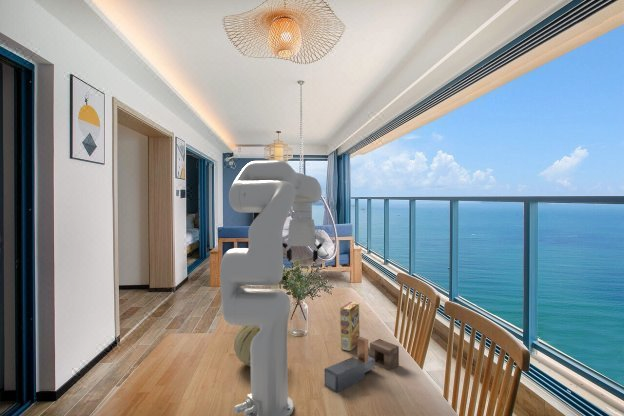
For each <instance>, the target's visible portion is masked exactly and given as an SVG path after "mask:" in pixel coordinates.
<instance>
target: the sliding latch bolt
mask: <svg viewBox="0 0 624 416" xmlns="http://www.w3.org/2000/svg"><path fill="white" fill-rule="evenodd" d="M357 359H358V360H360V361H363V362H365V373H367V372H369V371H372V370H373V369H375V368H376V364H375V359H374V358H372V357H370V355H369V339H367V338H365V337H362V336H360V337H359V338H358V344H357Z"/></svg>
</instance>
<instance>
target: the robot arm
mask: <svg viewBox="0 0 624 416" xmlns="http://www.w3.org/2000/svg"><path fill="white" fill-rule="evenodd" d="M228 192H229V193H228V201H229V206H230V207H231V208H232V209H233V210H234V211H235V212H237V213H244V214H245V213H247V214H248V213H249V214H251V213H254V214H255V213H258V215H257V216H256V217H255V218H254V219H253V221H252V223H251V224H250V226H249V228H248V231H247V234H248V235H247V236H248V247H241V248H240V247H237V248H236V247H235V248H230V249H228V250H227V251H226V252H224V253H223V256H222V258H221V262H220V268H219V269H220V270H219V279H220V281H219V282H220V296H221V308H222V316H223V319H224V321H225V322H226V324H228V325H230V326H238V327H242V326H253V327H259V328H260V331H259V332H258V333H257V334H256V335H255V336H254V338H253V339H252V342H251V346H250V356H251V367H250V393H248V394H247V395H246V396H247V397H246V398H247V399H245V400H244V402H242V403H239V404H237V405H234V406H233V407H232V409H233V413H234V414H235V415H239V414H240V413H243V416H291V415H292V413H293V411H294V410H295V409H294V408H295V407H294V405H295V404H294V401H293V399H292V398H291V397H289V396H288V395H289V394H288V390H289V389H288V328H289V319H290V312H291V299H290V297H289V295H288V293H286V292H284V291H283V290H280V289H273V288H249V287H273V286H277V285H279V283H281V282H282V279H283V275H284V254H283V253H284V251H283V250H286V259H287V261H288V262H290V261H291V260H292V259H293V258H292V257H293V250H292V248H293V247H312V249H313V251H312V261H313V262H314V263H315V262H316V261H317V260H318V259H319V256H318V255H319V254H318V253H319V252H318V251H319V249H321V247H323V245H324V243H325V241H326V239H325V238H324V237H322V236H320V235H318V234H317V233H316V227H315V226H316V224H315V221H314V219H313V207H312V206H313V204H315V203H318V202H320V200H321V199H322V193H323V191H322V186H321V183H320V182H319V181H318V179H317V178H315V177H313V176H311V175H307V174H303V173H300V172H296V171H295V170H294V169H293V167H292V166H291V165H290V163H287V162H286V161H283V160H275V159H274V160H253V161H250V162H248V163H247V164H245V166H244V167H243V168H242V169H241V171H240V172H239V173H238V175H237V176H236V177H235V179H234V181H233V182H232V184H231V186H230V189H229V191H228ZM288 217H291V219H289V223H288V234H286V235H284V236H283V232H284V227H285V224H286V221H287V218H288ZM286 240H287V243H288V244H287V243H286ZM316 240H318V241H319V244H318V245H317V244H316V242H317V241H316ZM283 248H284V249H283ZM243 286H244V287H243ZM248 286H249V287H248Z"/></svg>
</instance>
